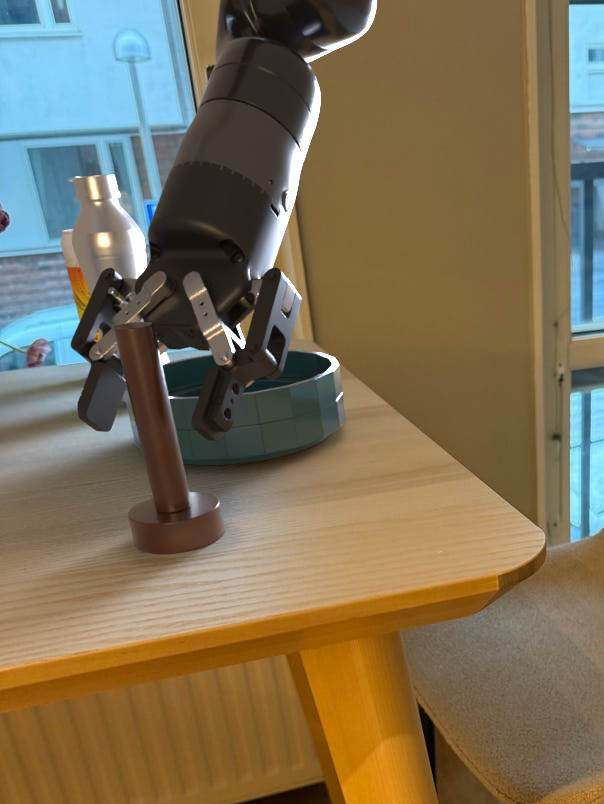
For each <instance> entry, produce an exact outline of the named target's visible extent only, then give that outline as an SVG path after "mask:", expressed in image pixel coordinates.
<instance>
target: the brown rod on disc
mask: <svg viewBox="0 0 604 804" xmlns="http://www.w3.org/2000/svg"><path fill="white" fill-rule="evenodd" d="M114 333H115V337H116V342H117V346H118V350H119V355H120V359H121V363H122V367H123V372H124V376H125V380H126V385H127V389H128V393H129V397H130V402H131V406H132V410H133V415H134V419H135V423H136V427H137V432H138V436H139V440H140V445H141V449H142V450H141V449H140V450H141V452H142V458H143V461H144V466H145V470H146V475H147V479H148V483H149V488H150V492H151V496H152V498H149V499H146V500H143V501H141V502H139V503H137V504H135V505H133V506H132V507H131V508H130V509H129V510H128V512H127V519H128V523H129V527H130V531H131V535H132V538H133V543H134V546H135V547H136V548H137V549H138V550H139V551H142V552H144V553H147V554H148V553H149V554H160V555H162V554H163V555H164V554H165V555H166V554H168V555H169V554H179V553H184V552H190V551H194V550H197V549H201V548H204V547H206V546H209V545H211V544H213V543H215V542H216V541H218V540H220V539H221V537H223V536H224V534H225V531H226V527H225V523H224V517H223V512H222V508H221V501H220V499H219V498H218V497H217V496H216V495H214V494H212V493H206V492H199V491H190V488H189V484H188V481H187V480H188V479H187V475H186V470H185V465H184V463H183V460H182V456H181V451H180V446H179V442H178V437H177V432H176V428H175V423H174V418H173V413H172V409H171V404H170V399H169V395H168V390H167V385H166V381H165V376H164V371H163V366H162V362H161V357H160V352H159V348H158V343H157V338H156V334H155V329H154V324H153V323H151V322H133V323H126V324H121V325H117V326H115V327H114Z"/></svg>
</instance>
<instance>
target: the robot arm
mask: <svg viewBox="0 0 604 804" xmlns="http://www.w3.org/2000/svg"><path fill="white" fill-rule="evenodd" d="M377 5H378V0H219V4H218V11H217V13H218V14H217V24H216V25H217V26H216V36H215V52H214V53H215V65H214V67H213V69H212V71H211V73H210V75H209V79H208V81H207V84H206V86H205V89H204V91H203V93H202V97H201V99H200V102H199V104H198V108H197V110H196V113H195V114H194V117H193V119H192V121H191V123H190V125H189V126H188V128H187V129H186V131H185V133H184V134H183V137H182V139H181V141H180V144H179V146H178V148H177V151H176V154H175V156H174V159H173V161H172V165H171V168H170V170H169V173H168V175H167V178H166V181H165V183H164V186H163V188H162V190H161V193H160V197H159V199H158V201H157V205H156V207H155V210H154V212H153V215H152V217H151V221H150V223H149V226H148V230H147V239H148V245H149V255H150V257H149V262H148V263H147V267H146V268H145V270H144V271H143V272H142V273H141V274H140V276H139V277H138V278H137V279H132V278H122V277H121V276H120V275H119V274H118V273H117V272H116V271H115V270H114V269H113V268H107V269H105V270H104V271H103V272H102V273H101V274H100V277H99V279H98V281H97V283H96V286H95V288H94V290H93V293H92V295H91V297H90V299H89V302H88V304H87V306H86V308H85V311H84V313H83V315H82V318H81V320H80V319H79V322H78V324H77V327H76V329H75V332H74V334H73V336H72V338H71V340H70V348H71V349H72V350H73V351H74V352H76V353H77V354H78V355H79V356H80V357H82V358H83V359H84V360H86V361H87V362H88V363H89V364H90V367H89V368H90V369H89V371H88V374H87V376H86V379H85V382H84V385H83V387H82V388H83V389H82V390H81V393H80V395H79V398H78V401H77V406H76V407H77V409H76V410H77V416H78V418H79V420H80V421H82V422H83V423H84V424H86V425H87V426H89V427H90V428H91V429H93V430H95V431H96V432H103V433H108V432H110V431H111V430H112V428H113V425H114V423H115V421H116V417H117V415H118V412H119V409H120V406H121V403H122V402H121V401H122V398H123V395H124V392H125V390H126V387H127V385H126V380H125V376H124V372H123V367H122V363H121V359H120V357H118V356H117V355H116V353H117V350H118V346H117V342H116V337H115V333H114V327H115V326H117V325H121V324H126V323H133V322H139V321H140V320H141V319H142V318H143V321H144V322H151V323H153V324H154V329H155V334H156V338H157V343H158V348H159V352H160V356H161V355H163V354H164V353H165V352H166V353H167V351H168V350H173V351H176V350H177V351H178V350H179V351H180V350H185V349H188V348H189V349H190V348H191V349H195V350H197V351H201V352H202V351H204V352H209V351H211V354H213V357H214V360H215V363H216V364H217V365H218V366H217V368H209V369H208V372H207V375H206V378H205V381H204V384H203V387H202V390H201V393H200V396H199V399H198V401H197V404H196V407H195V410H194V413H193V416H192V420H191V422H192V426H193V428H194V429H195V430H196V431H197V432H198V433H200V434H201V435H202V436H203V437H204V438H205V439H207V440H209V441H221V440H222V439H223V437H224V434H225V432H228V431H229V429H230V428H231V427H232V425H233V422H234V419H235V415H236V413H237V409H238V407H239V404H240V401H241V398H242V395H243V392H244V389H245V388H246V387H248V386H250V385H251V384H252V383H253V382H254V379H257V378H260V377H264V376H265V377H266V378H267V379H269V380H274V379H277V378H278V377H279V376H280V375H281V374H282V372H283V368H284V365H285V361H286V357H287V353H288V350H290V346H291V342H292V338H293V335H294V331H295V326H296V322H297V319H298V314H299V312H300V307H301V303H302V296H301V295H300V294H299V292H298V291H297V289H296V288H295V286H294V285H293V284H292V282H291V281H290V280H289V278H288V277H287V275H285V274H284V272H282V270H281V269H280V268H278V267H274V264H275V262H276V259H277V255H278V252H279V250H280V247H281V243H282V241H283V237H284V235H285V231H286V228H287V226H288V222H289V219H290V216H291V213H292V211H293V208H294V204H295V202H296V197H297V193H298V188H299V182H300V176H301V171H302V168H303V165H304V162H305V159H306V155H307V153H308V149H309V146H310V143H311V140H312V138H313V135H314V132H315V130H316V127H317V122H318V120H319V119H318V118H319V114H320V108H321V90H320V85H319V82H318V79H317V76H316V74H315V72H314V71H313V69H312V67H311V66H310V64H309V63H310V62H313V61H314V60H317V59H319V58H320V57H323V56H324V55H327V54H329V53H331V52H333V51H335V50H337V49H339V48H342V47H344V46H346V45H349V44H350V43H353V42H354V41H356V40H358V39H359V38H360V37H362V36H363V35H364V34H366V33H367V32H368V30H370V27H371V26H372V24H373V22H374V19H375V15H376V11H377V7H378V6H377ZM252 312H253V313H252ZM251 313H252V317H251V320H250V323H249V327H248V331H247V335H246V338H245V337H244V335H243V333H242V330H241V327H240V325H241V323H242V322H243V321H244V320H245V319H246V318H247V317H248V316H249V315H250V314H251ZM98 328H99V329H100V330H101V331H102V333H103V336H102V338H101V339H100V340H99V341H98V342H96V341H94V338H95V335H96V333H97V331H98Z"/></svg>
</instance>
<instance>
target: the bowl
mask: <svg viewBox="0 0 604 804" xmlns="http://www.w3.org/2000/svg"><path fill="white" fill-rule="evenodd" d="M162 366H163V371H164V376H165V381H166V385H167V390H168V395H169V399H170V404H171V409H172V413H173V418H174V423H175V428H176V432H177V437H178V442H179V446H180V451H181V456H182V460H183V465H184V464H186V465H195V466H196V465H197V466H222V465H234V464H245V463H246V464H247V463H253V462H261V461H266V460H271V459H276V458H281V457H284V456H288V455H291V454H295V453H298V452H301V451H304V450H306V449H309V448H312V447H314V446H316V445H318V444H319V443H321V442H323V441H324V440H326V439H327V438H328V437H329V436H330V435H331V434H334V433H335V432H337V431H338V430H340V429H341V428H342V426H343V425H344V424H345V422H346V420H347V416H346V410H345V409H346V408H345V401H344V393H343V383H342V376H341V368H340V363H339V361H338V360H337V359H336V357H335V356H332V355H329V354H326V353H324V352H318V351H311V350H304V349H288V353H287V357H286V361H285V365H284V368H283V372H282V374H281V375H280V376H279V377H278V378H277V379H274V380H269V379H267V378H266V377H265V376H264V377H260V378H257V379H254V382H253V383H252V384H251V385H250V386H248V387H246V388H245V389H244V392H243V395H242V398H241V401H240V404H239V407H238V409H237V413H236V415H235V419H234V422H233V425H232V427H231V428H230V429H229V431H228V432H225V434H224V437H223V439H222V440H221V441H209V440H207V439H205V438H204V437H203V436H202V435H201V434H200V433H198V432H197V431H196V430H195V429H194V428H193V426H192V422H191V420H192V416H193V413H194V410H195V407H196V404H197V401H198V399H199V396H200V393H201V390H202V387H203V384H204V381H205V378H206V375H207V372H208V369H209V368H217V366H218V365H217V364H216V363H215V360H214V357H213V354H212V353H210V354H205V355H198V356H192V357H186V358H185V357H184V358H181V359H178V360H172V361H170V362H168V363H164V364H162ZM124 397H125V401H126V402H125V405H126V409H127V414H128V418H129V421H130V422H129V423H130V427H131V431H132V435H133V439H134V444H135V446H137V447H138V448H139V449H140V450H141V451H142V449H141V445H140V440H139V436H138V432H137V427H136V423H135V419H134V415H133V410H132V406H131V402H130V397H129V393H128V389H127V387H126V390H125V392H124Z"/></svg>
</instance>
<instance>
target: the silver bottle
mask: <svg viewBox="0 0 604 804" xmlns="http://www.w3.org/2000/svg"><path fill="white" fill-rule="evenodd" d="M72 179H73V180H72V181H73V185H74V191H75V198H76V199H75V200H76V201H80V210H79V212H78V215H77V217H76V219H75V222H74V224H73V225H74V226H73V228H72V229H73V232H72V246H73V249H74V252H75V254H76V256H77V260H78V263H79V265H80V268H81V271H82V273H83V276H84V279H85V281H86V284H87V286H88V290H89V293H90V297H91V295H92V293H93V290H94V288H95V286H96V283H97V281H98V279H99V277H100V274H101V273H102V272H103V271H104V270H105V269H107V268H113V269H114V270H115V271H116V272H117V273H118V274H119V275H120V276H121V277H122V278H132V279H137V278H138V277H139V276H140V274H141V273H142V272H143V271H144V270H145V268H146V267H147V266H148V259H147V251H146V248H147V247H146V238H145V236H144V234H143V232H142V229H141V228H140V226H139V225H138V224H137V222H136V221H135V219H133V217H132V216H131V215H130V213H128V212H127V211H126V209H124V208H123V206H121V204H120V202H119V198H121V197H122V195H121V192H120V191H119V187H118V183H117V178H116V176H115V174H100V175H99V174H98V175H84V176H73V177H72ZM139 322H144V321H143V318H142V319H141V320H140V321H139ZM99 335H100V339H101V338H102V336H103V333H102V331H101V330H100V329H99ZM116 355H117V356H118V357H120V355H119V350H117V353H116ZM160 357H161V362H162V364H164V363H168V362H171V361H170V357H169V356H168V353H167V351H166V352H165V353H164V354H163V355H161V356H160ZM121 403H126V401H125V397H124V395H123V398H122V401H121Z"/></svg>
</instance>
